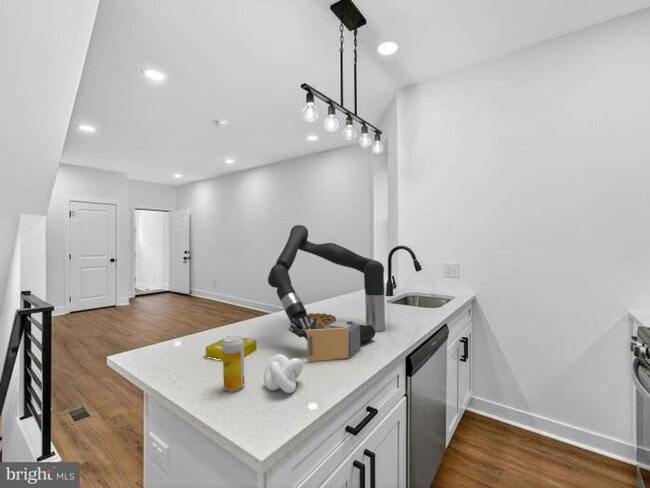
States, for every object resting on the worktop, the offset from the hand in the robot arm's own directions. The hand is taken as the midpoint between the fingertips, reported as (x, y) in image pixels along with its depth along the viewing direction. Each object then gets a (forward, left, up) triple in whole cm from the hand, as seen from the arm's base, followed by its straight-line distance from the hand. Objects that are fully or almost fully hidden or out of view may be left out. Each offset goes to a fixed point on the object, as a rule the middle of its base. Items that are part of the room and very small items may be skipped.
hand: (313, 344), depth 115 cm
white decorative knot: (+25, +4, -5) cm, 26 cm away
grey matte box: (-10, +7, -5) cm, 14 cm away
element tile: (+10, -32, -6) cm, 34 cm away
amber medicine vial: (+31, -10, -5) cm, 33 cm away
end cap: (-23, +10, -5) cm, 26 cm away
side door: (0, +7, -5) cm, 8 cm away
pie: (-36, -21, -6) cm, 42 cm away
